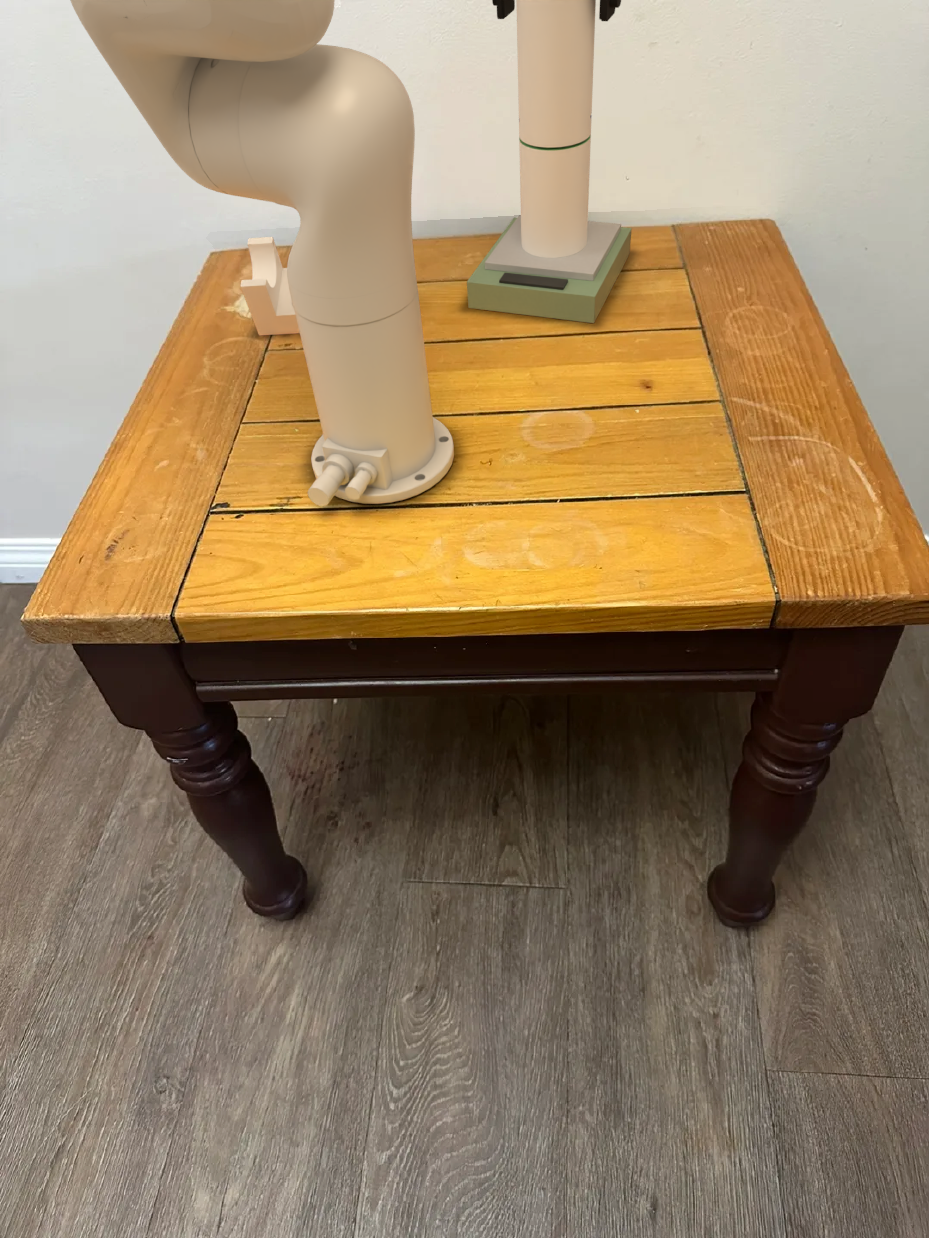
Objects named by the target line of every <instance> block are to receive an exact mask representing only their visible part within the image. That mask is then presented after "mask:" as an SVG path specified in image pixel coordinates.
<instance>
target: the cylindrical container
mask: <svg viewBox="0 0 929 1238" xmlns="http://www.w3.org/2000/svg"><path fill="white" fill-rule="evenodd" d="M596 1H597V0H515V2H516V43H517V44H516V46H517V49H516V50H517V92H518V96H517V97H518V135H519V137H518V141H519V145H518V146H519V148H518V149H519V190H520V191H519V192H520V197H519V198H520V215H521V244H522V248H523V249H524V250H525V251H526V252H527V253H529V254H531V255H534V256H538V257H544V258H560V257H566V256H570V255H573V254H575V253H578V252H579V251H581V250H582V249H583V248H585V246H586V244H587V226H588V221H589V195H590V172H591V171H590V170H591V169H590V168H591V141H592V116H593V115H592V111H593V87H594V62H595V61H594V59H595V31H596V30H595V29H596V27H595V26H596V6H597V4H596V3H597V2H596Z"/></svg>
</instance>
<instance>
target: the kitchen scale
mask: <svg viewBox="0 0 929 1238" xmlns="http://www.w3.org/2000/svg"><path fill="white" fill-rule="evenodd" d="M632 229H633V228H632V227H625V226H622V223H613V222H604V221H594V220H593V221H592V220H588V226H587V244H586V246H585V248H583V249H582V250H581V251H579V252H578V253H575V254H573V255H570V256H566V257H560V258H544V257H538V256H534V255H531V254H529V253H527V252H526V251H525V250H524V249H523V248H522V244H521V214H518V216H517V217H513V219H512V220H511V221H510V222H509V223H508V225H507V226H506V228H505V229H504V230H503V232H502V233H501V235H500V236H499V237H498V239H497V240H496V242H495V243H494V244H493V245H492V246H491V248H490V250H489V251H488V252H487V254H486V255H485V256H484V258H483V259H482V260H481V262H480V263H479V264H478V265H477V267H476V268H475V270H474V271H473V273H472V274H471V275H470V277H469V278H468V279H467V281H466V290H467V291H466V292H467V302H468V304H467V305H468V307H467V308H468V309H474V310H482V311H489V312H490V311H491V312H498V313H507V314H513V315H514V314H515V315H523V316H530V317H531V316H532V317H540V318H546V319H547V318H548V319H556V320H565V321H571V322H580V323H588V324H595V322H596V320H597V318H598V316H599V314H600V313H601V310H602V308H603V306H604V305H605V302H606V301H607V299H608V297H609V295H610V293H611V291H612V290H613V287H614V285H615V283H616V282H617V279H618V277H619V276H620V274H621V271H622V270H623V268H624V265H626V262H627V260H628V259H629V256H630V254H631V243H632Z"/></svg>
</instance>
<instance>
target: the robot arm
mask: <svg viewBox="0 0 929 1238" xmlns="http://www.w3.org/2000/svg"><path fill="white" fill-rule="evenodd" d="M335 1H336V0H70V3H71V5H72V8H73V10H74V12H75V14H76V16H77V17H78V19H79V21H80V23H81V25H82V26H83V28H84V30H85V31H86V33H87V34H88V36H89V38H90V39H91V41H92V42H93V44H94V45H95V47H96V49H97V50H98V52H99V53H100V54H101V56H102V58H103V59H104V60H105V62H106V63H107V65H108V67H109V68H110V70H111V71H112V73H113V74H114V76H115V77H116V79H117V80H118V81H119V83H120V85H121V86H122V88H123V90H124V91H125V92H126V94H127V95H128V97H129V98H130V99H131V101H132V103H133V104H134V106H135V107H136V109H137V111H138V112H139V113H140V114H141V116H142V117H143V119H144V120H145V122H146V124H147V125H148V127H149V128H150V129H151V131H152V132H153V134H154V135H155V136H156V138H157V140H158V141H159V142H160V144H161V146H162V147H163V148H164V150H165V152H167V154H168V155H169V156H170V157H171V159H172V161H173V162H174V163H175V164H176V166H177V167H179V168H180V169H181V170H182V172H183V173H185V174H186V175H187V176H188V177H189V178H190V179H191V180H193V181H194V182H195V183H197V184H198V185H200V186H201V187H204V188H206V189H208V190H210V191H214V192H215V193H220V194H225V195H229V196H234V197H240V198H245V199H252V200H257V201H264V202H268V203H274V204H276V205H280V206H284V207H289V208H292V209H294V210H296V211H297V213H298V216H299V223H300V224H299V228H298V232H297V235H296V237H295V239H294V241H293V243H292V246H291V249H290V251H289V255H288V259H287V267H286V268H287V278H288V285H289V290H290V295H291V299H292V304H293V307H294V310H295V315H296V319H297V323H298V328H299V332H300V333H299V336H300V340H301V345H302V350H303V353H304V358H305V362H306V366H307V370H308V375H309V379H310V385H311V388H312V393H313V396H314V400H315V405H316V410H317V413H318V418H319V422H320V427H321V431H322V434H321V436H320V437H319V438H318V440H316V442H315V444H314V447H313V449H312V450H311V451H312V452H311V458H310V460H311V467H312V469H313V470H312V471H313V474H314V477H315V480H314V481H313V483H312V484H311V486H310V487H309V488H308V490H307V497H308V499H309V500H310V501H311V502H312V503H313V504H315V505H316V506H319V507H326V506H328V505H329V503H330V502H331V501H332V499H333V498H334V497H337V498H338V499H343V500H345V501H348V502H350V503H351V502H352V503H357V504H358V503H359V504H365V505H367V504H370V505H371V504H372V505H379V504H381V505H382V504H389V503H394V502H399V501H403V500H407V499H410V498H412V497H415V496H418V495H420V494H422V493H423V492H425V491H428V490H429V489H431V488H432V487H434V486H435V485H436V484H438V483H439V482H440V481H441V480H442V479H443V478H444V477H445V476H447V474H448V472H449V470H450V468H451V467H452V464H453V462H454V458H455V446H454V440H453V436H452V434H451V432H450V430H449V428H447V426H445V424H444V423H443V422H441V421H440V420H438V419H437V418H436V417H434V416H433V408H432V399H431V391H430V381H429V374H428V373H429V372H428V365H427V357H426V345H425V337H424V330H423V322H422V321H423V320H422V313H421V304H420V294H419V287H418V280H417V272H416V262H415V253H414V242H413V240H414V239H413V224H412V222H413V221H412V194H413V193H412V191H413V190H412V189H413V173H414V171H413V170H414V159H415V157H414V156H415V140H416V139H415V137H416V136H415V135H416V130H415V129H416V128H415V127H416V126H415V115H414V108H413V105H412V101H411V98H410V96H409V93H408V91H407V89H406V86H405V85H404V84H403V82H402V80H401V79H400V77H399V76H398V75H397V74H396V73H395V72H394V71H393V70H392V68H390V67H389V66H388V65H386V64H385V63H384V62H383V61H381V60H379V59H377V58H376V57H375V56H372V55H370V54H367V53H365V52H361V51H360V50H359V51H358V50H356V49H352V48H348V47H343V46H338V45H329V44H321V43H320V44H319V42H320V41H321V40H322V39H323V38H324V36H325V35H326V33H327V31H328V29H329V26H330V24H331V22H332V19H333V15H334V12H335V11H334V10H335ZM491 1H492V5H493V6H496V18H497V20H504V19H505V18H507V17H508V16H509V15H511V13H513V12H514V11H515V8H516V4H515V3H516V0H491ZM621 3H622V0H599V11H598V13H599V15H598V20H600V21H601V22H608V21H610V19H611V18H612V17H613V16H614V15H615V12H616V8H618V9H619V8H620V6H621V5H622V4H621Z"/></svg>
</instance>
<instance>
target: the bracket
mask: <svg viewBox="0 0 929 1238" xmlns="http://www.w3.org/2000/svg"><path fill="white" fill-rule="evenodd" d="M246 244H247V247H248V251H249V256H250V261H251V270H252V271H251V275H252V278H251V279H241V281H240V290H241V292H242V295H243V298H244V300H245V302H246V305H247V308H248V311H249V313H250V315H251V318H252V321H253V323H254V326H255V329H256V331H257V334H258V336H273V335H274V336H275V335H292V334H295V335H296V334H300V332H299V328H298V323H297V319H296V315H295V310H294V307H293V304H292V299H291V295H290V290H289V285H288V278H287V267H283V264H282V260H281V258H280V254H279V251H278V249H277V246H276V242H275V239H274V236H264V237H249V238H248V239H247V243H246Z"/></svg>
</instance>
